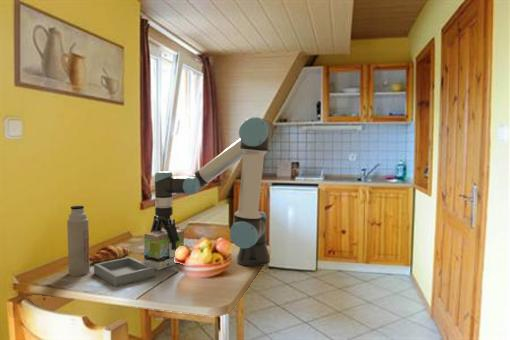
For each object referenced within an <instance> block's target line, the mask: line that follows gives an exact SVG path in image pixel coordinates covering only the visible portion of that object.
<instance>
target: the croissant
mask: <svg viewBox="0 0 510 340" xmlns="http://www.w3.org/2000/svg"><path fill="white" fill-rule="evenodd" d="M129 253H130V249H129V248H126V247H125V246H124V247H120V246H118V245H116V246H113V245H105V246H102V247H101V248H99V250H98V251H96V252H95V254H93V255H92V256H91V257H89V262H92V263H97V264H98V263H102V262H107V261H112V260H117V259H122V258H124V257H125V256H127V255H128V254H129Z"/></svg>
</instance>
